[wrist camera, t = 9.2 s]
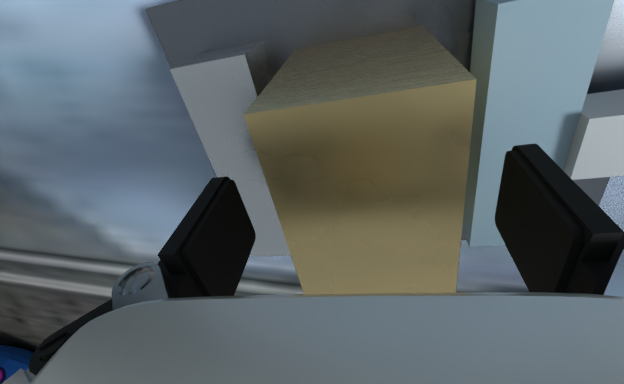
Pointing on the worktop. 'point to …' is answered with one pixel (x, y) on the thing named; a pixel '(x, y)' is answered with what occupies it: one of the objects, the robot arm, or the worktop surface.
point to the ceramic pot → (13, 361)
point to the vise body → (278, 48)
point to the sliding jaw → (538, 98)
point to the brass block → (369, 161)
